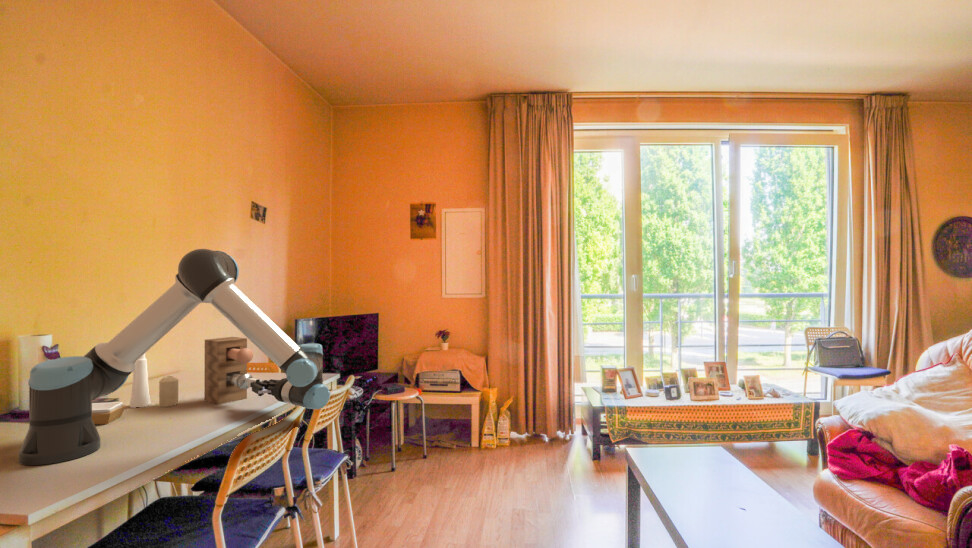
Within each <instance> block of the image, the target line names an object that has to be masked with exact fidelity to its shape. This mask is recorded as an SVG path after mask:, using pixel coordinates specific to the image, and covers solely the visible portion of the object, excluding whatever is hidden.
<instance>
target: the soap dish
mask: <svg viewBox="0 0 972 548" xmlns="http://www.w3.org/2000/svg"><path fill="white" fill-rule="evenodd" d="M126 407H127V405H126V404H123V402H122V401H119V402H118V401H116V402H114V401H113V402H111V401H110V402H92V420H93V422H94V424H100V425H107V424H110V423H112V422H114V421H115V419H116V420H117V419H119V418H121V417H122V415H123V413H124V411H125V409H126Z"/></svg>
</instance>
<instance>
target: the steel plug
mask: <svg viewBox="0 0 972 548" xmlns="http://www.w3.org/2000/svg"><path fill="white" fill-rule="evenodd" d="M250 378H254V377H253V376H252V374H248V373H247V374H242V375H239V374H234V373H227V374H226V383H228V384H232V385H237V386H238V387H239V388H241V389H247V390H248V389H250V387H248V379H250Z"/></svg>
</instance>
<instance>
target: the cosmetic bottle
mask: <svg viewBox="0 0 972 548" xmlns="http://www.w3.org/2000/svg"><path fill="white" fill-rule="evenodd" d="M148 369H149V368H148V359H147V358H146V353H144V354H143V355H142V356H141V357H140V358H139V359H138V360H137V361H136V369H135V370H134V371H133V372H132V383H131V384H132V386H131V396H130V401H129V406H128V407H129V408H132V409H134V408H135V409H137V408H136V407H139V408H144V406H145V407H148V405H149V406H151V404H152V402H151V397H150V389H149V388H150V387H149V374H148V373H149V372H148Z"/></svg>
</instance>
